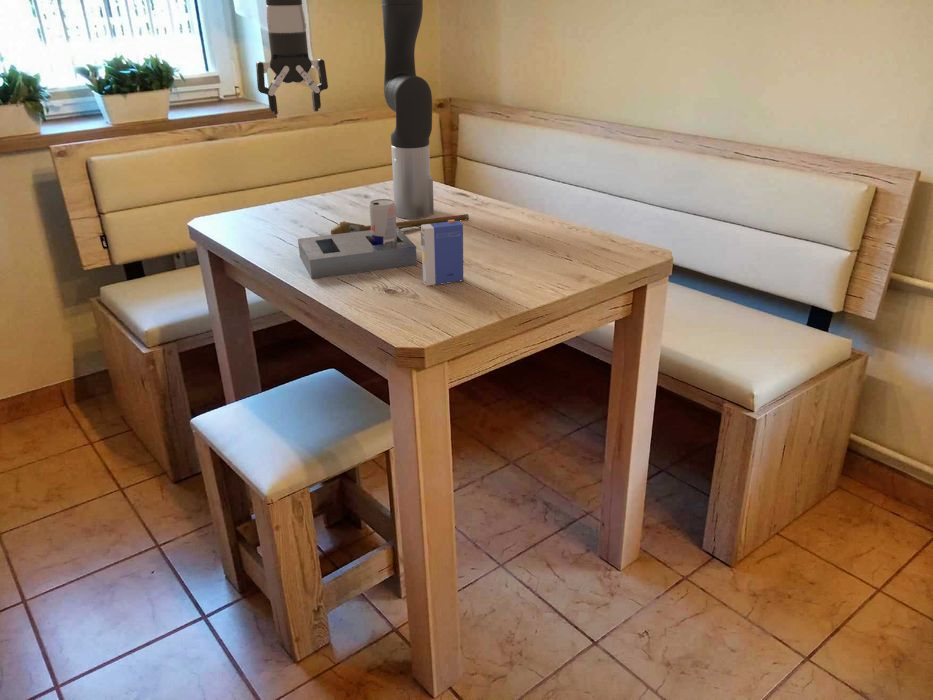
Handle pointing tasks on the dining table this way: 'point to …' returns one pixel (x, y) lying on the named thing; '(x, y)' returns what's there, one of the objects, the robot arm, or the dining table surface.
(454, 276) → the walkman
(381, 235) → the energy drink
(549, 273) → the dining table surface
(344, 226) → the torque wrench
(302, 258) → the socket plate
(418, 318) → the dining table surface
